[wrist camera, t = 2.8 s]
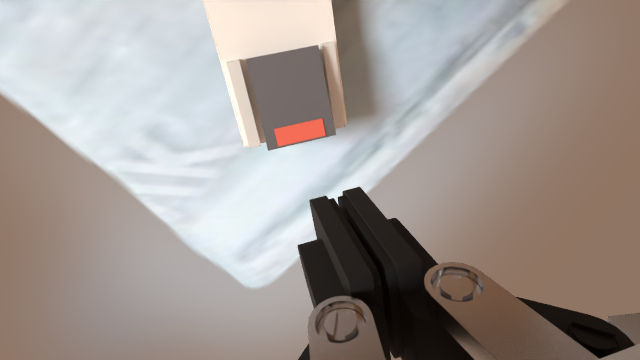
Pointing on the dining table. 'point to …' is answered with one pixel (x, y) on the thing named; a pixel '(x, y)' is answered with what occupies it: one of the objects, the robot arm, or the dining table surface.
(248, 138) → the rocker switch panel
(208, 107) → the dining table surface
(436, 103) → the dining table surface
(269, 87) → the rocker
